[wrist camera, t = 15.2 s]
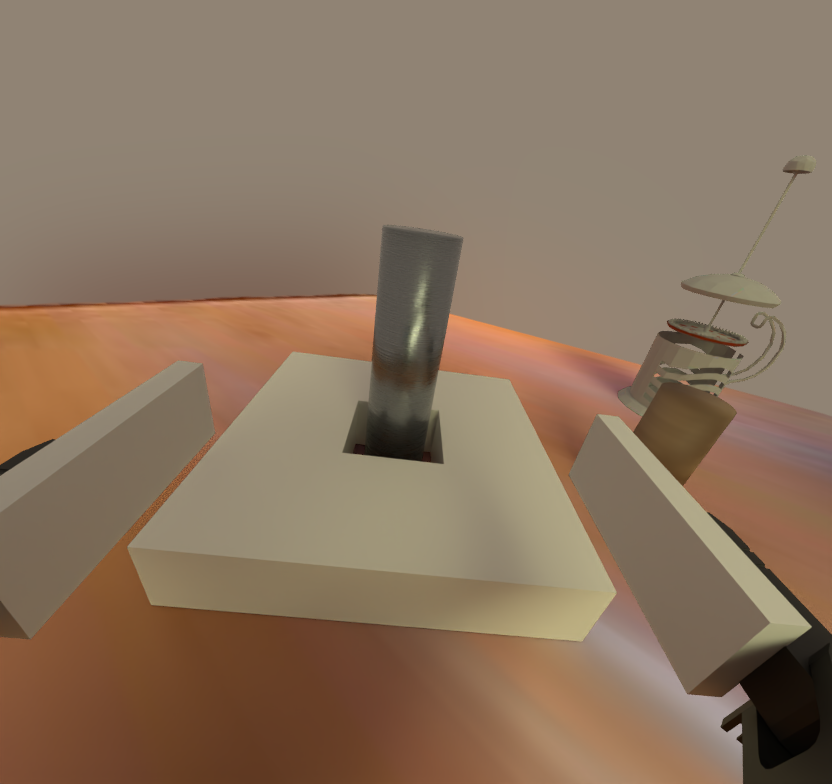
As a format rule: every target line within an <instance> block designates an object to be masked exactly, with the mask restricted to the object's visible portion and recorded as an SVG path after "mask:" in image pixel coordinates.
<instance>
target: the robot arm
mask: <svg viewBox="0 0 832 784" xmlns="http://www.w3.org/2000/svg"><path fill="white" fill-rule="evenodd" d="M214 434H215V429H214V424H213V418H212V413H211V407H210V401H209V396H208V390H207V385H206V379H205V374H204V368H203V364H201V363H194V362H186V361H177V362H175V363H174V364H172V365H170V366H169V367H167V368H166V369H164V370H163V371H161V372H160V373H158V374H157V375H155V376H154V377H152V378H150V379H149V380H147V381H146V382H144V383H143V384H141V385H140V386H138V387H137V388H135V389H133V390H132V391H130V392H129V393H127V394H126V395H124V396H123V397H121V398H120V399H118V400H116V401H115V402H113V403H112V404H110V405H109V406H107V407H106V408H104V409H103V410H101V411H100V412H98V413H96V414H95V415H93V416H92V417H90V418H89V419H87V420H86V421H84V422H83V423H81V424H79V425H78V426H76V427H75V428H73V429H72V430H70V431H69V432H67V433H66V434H64V435H62V436H61V437H59V438H58V439H56V440H55V439H52V440H49V441H47V442H44V443H42V444H39V445H37V446H34V447H32V448H30V449H27V450H25V451H22V452H20V453H19V454H17V455H16V456H14V457H12V458H11V459H9V460H8V461H6V462H4V463H3V464H1V465H0V637H8V638H20V639H31V638H32V637H33V636H34V635H35V634H36V633H37V632H38V631H39V629H40V628H41V627H42V626H43V625H44V624H45V623H46V622H47V621H48V619H49V618H50V617H51V616H52V615H53V614H54V613H55V612H56V610H57V609H58V608H59V607H60V606H61V605H62V604H63V603H64V602H65V600H66V599H67V598H68V597H69V596H70V595H71V594H72V593H73V591H74V590H75V589H76V588H77V587H78V586H79V585H80V584H81V583H82V581H83V580H84V579H85V578H86V577H87V576H88V575H89V574H90V572H91V571H92V570H93V569H94V568H95V567H96V566H97V565H98V564H99V562H100V561H101V560H102V559H103V558H104V557H105V556H106V555H107V554H108V552H109V551H110V550H111V549H112V548H113V547H114V546H115V545H116V543H117V542H118V541H119V540H120V539H121V538H122V537H123V536H124V535H125V533H126V532H127V531H128V530H129V529H130V528H131V527H132V526H133V524H134V523H135V522H136V521H137V520H138V519H139V518H140V517H141V516H142V514H143V513H144V512H145V511H146V510H147V509H148V508H149V507H150V506H151V504H152V503H153V502H154V501H155V500H156V499H157V498H158V497H159V495H160V494H161V493H162V492H163V491H164V490H165V489H166V488H167V487H168V485H169V484H170V483H171V482H172V481H173V480H174V479H175V478H176V476H177V475H178V474H179V473H180V472H181V471H182V470H183V469H184V468H185V466H186V465H187V464H188V463H189V462H190V461H191V460H192V459H193V457H194V456H195V455H196V454H197V453H198V452H199V451H200V450H201V449H202V447H203V446H204V445H205V444H206V443H207V442H208V441H209V440H210V439H211V437H212V436H213V435H214ZM569 476H570V478H571V480H572V482H573V484H574V486H575V487H576V489H577V491H578V493H579V495H580V497H581V498H582V500H583V502H584V504H585V506H586V508H587V510H588V511H589V513H590V515H591V517H592V519H593V521H594V523H595V524H596V526H597V528H598V530H599V532H600V534H601V535H602V537H603V539H604V541H605V543H606V545H607V547H608V548H609V550H610V552H611V554H612V556H613V558H614V560H615V561H616V563H617V565H618V567H619V569H620V571H621V572H622V574H623V576H624V578H625V580H626V582H627V584H628V585H629V587H630V589H631V591H632V593H633V595H634V597H635V598H636V600H637V602H638V604H639V606H640V608H641V609H642V611H643V613H644V615H645V617H646V619H647V621H648V622H649V624H650V626H651V628H652V630H653V632H654V634H655V635H656V637H657V639H658V641H659V643H660V645H661V646H662V648H663V650H664V652H665V654H666V656H667V658H668V659H669V661H670V663H671V665H672V667H673V669H674V671H675V672H676V674H677V676H678V678H679V680H680V682H681V683H682V685H683V687H684V689H685V691H686V693H687V694H691V695H703V696H715V697H722V696H724V695H725V694H726V693H728V692H729V691H730V690H731V689H733V688H734V687H735V686H737V685H738V684H739V683H740V685H741V686H742V688H743V689H744V691H745V692H746V694H747V695H748V697H749V698H750V700H749V701H747V702H746V703H745V704H743V705H742V706H741V707H739V708H738V709H736V710H735V711H734V712H732V713H731V714H729V715H728V716H727V717H725V718H724V719H723V722H722V725H721V728H722V729H723V730H725V731H726V732H728V731H730V730H731V729H733V728H734V727H735V726H737V725H738V724H740V723H741V724H742V734H741V735H740V736H738V737H737V740H738V741H739V742H741V743H742V744H743V784H832V634H830V633H829V631H828V630H827V629H826V628H825V627H824V626H823V625H822V624H821V623H820V622H819V621H818V620H817V619H816V618H815V617H814V616H813V615H812V614H811V613H810V611H809V610H808V609H807V608H806V607H805V606H804V605H803V604H802V603H801V602H800V601H799V600H798V599H797V598H796V597H795V596H794V595H793V594H792V593H791V591H790V590H789V589H788V588H787V587H786V586H785V585H784V584H783V583H782V582H781V581H780V580H779V579H778V578H777V577H776V576H775V575H774V574H773V572H772V571H771V570H770V569H766V568H765V564H764V563H763V562H762V561H761V560H760V559H759V558H758V557H757V556H756V555H755V554H754V552H750V550H749V549H750V548H749V547H748V546H747V545H746V544H745V543H744V542H743V541H742V540H741V539H740V538H739V537H738V536H737V535H736V533H735V532H734V531H733V530H732V529H730V528H729V527H728V526H726V525H725V524H724V523H722V522H721V521H720V520H718V519H717V518H716V517H714V516H713V515H712V514H710V513H708V512H706V511H705V510H704V509H703V508H702V507H701V506H700V505H699V504H698V503H697V501H696V500H695V499H694V498H693V497H692V496H691V495H690V494H689V493H688V492H687V491H686V490H685V488H684V487H683V486H682V485H681V484H680V483H679V482H678V481H677V480H676V479H675V478H674V476H673V475H672V474H671V473H670V472H669V471H668V470H667V469H666V468H665V467H664V466H663V465H662V463H661V462H660V461H659V460H658V459H657V458H656V457H655V456H654V455H653V454H652V453H651V451H650V450H649V449H648V448H647V447H646V446H645V445H644V444H643V443H642V442H641V441H640V440H639V438H638V437H637V436H636V435H635V434H634V433H633V432H632V431H631V430H630V429H629V428H628V426H627V425H626V424H625V423H624V422H623V421H622V420H621V419H620V418H619V417H617V416H609V415H601V414H597V415H596V417H595V419H594V421H593V424H592V426H591V428H590V430H589V432H588V434H587V436H586V439H585V441H584V443H583V445H582V447H581V449H580V451H579V454H578V456H577V458H576V460H575V462H574V464H573V466H572V469H571V471H570V473H569Z"/></svg>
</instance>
